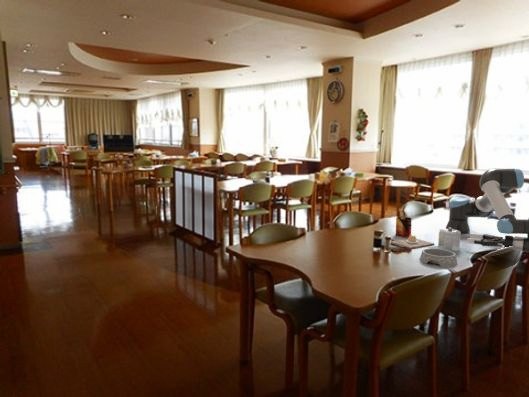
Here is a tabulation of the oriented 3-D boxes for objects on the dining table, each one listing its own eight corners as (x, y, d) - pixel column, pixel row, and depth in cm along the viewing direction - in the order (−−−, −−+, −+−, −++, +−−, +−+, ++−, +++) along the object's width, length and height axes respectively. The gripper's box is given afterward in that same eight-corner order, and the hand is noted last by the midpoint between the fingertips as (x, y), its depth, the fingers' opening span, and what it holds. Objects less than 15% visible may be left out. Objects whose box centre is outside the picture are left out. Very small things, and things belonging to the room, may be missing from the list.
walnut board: (413, 240, 246) (413, 237, 246) (434, 245, 232) (434, 243, 232) (390, 243, 237) (390, 241, 237) (410, 250, 223) (410, 247, 223)
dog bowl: (425, 255, 214) (425, 245, 213) (460, 261, 203) (461, 251, 202) (415, 262, 201) (415, 252, 200) (452, 269, 190) (453, 259, 189)
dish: (411, 240, 239) (412, 233, 238) (420, 243, 233) (421, 235, 232) (403, 241, 236) (403, 234, 235) (412, 244, 230) (413, 236, 229)
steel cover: (440, 245, 231) (441, 224, 229) (460, 248, 225) (461, 226, 223) (437, 249, 222) (438, 228, 220) (458, 252, 216) (459, 230, 214)
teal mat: (445, 244, 234) (446, 244, 234) (470, 251, 220) (470, 250, 220) (427, 248, 227) (427, 247, 227) (451, 255, 213) (451, 254, 213)
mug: (409, 239, 248) (410, 221, 247) (392, 235, 260) (393, 217, 258) (419, 237, 253) (420, 219, 252) (401, 233, 265) (402, 216, 263)
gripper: (512, 255, 195) (466, 249, 207) (512, 244, 216) (470, 239, 228) (513, 241, 194) (466, 236, 206) (513, 231, 215) (471, 227, 227)
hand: (468, 238), depth 217 cm, fingers open, 13 cm apart
